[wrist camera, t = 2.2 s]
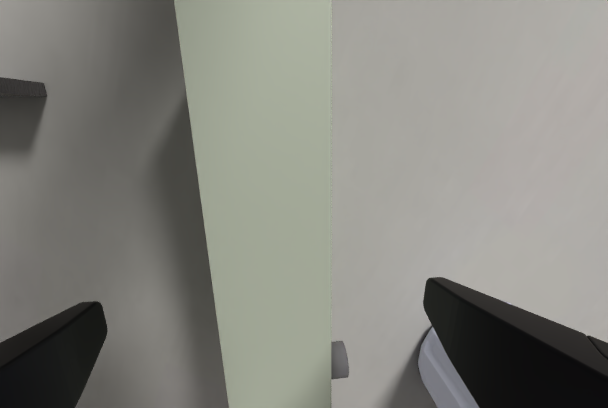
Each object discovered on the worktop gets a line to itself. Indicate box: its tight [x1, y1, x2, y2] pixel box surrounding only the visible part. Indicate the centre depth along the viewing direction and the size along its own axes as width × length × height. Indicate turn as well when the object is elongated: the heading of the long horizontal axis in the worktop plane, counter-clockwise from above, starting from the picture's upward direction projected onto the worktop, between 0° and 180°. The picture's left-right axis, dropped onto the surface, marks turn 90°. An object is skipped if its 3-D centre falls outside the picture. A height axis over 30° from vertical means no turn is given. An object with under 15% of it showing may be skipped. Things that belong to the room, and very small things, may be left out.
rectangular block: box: [174, 0, 349, 408], centre depth 14 cm, size 18×5×8 cm, turn 2°
